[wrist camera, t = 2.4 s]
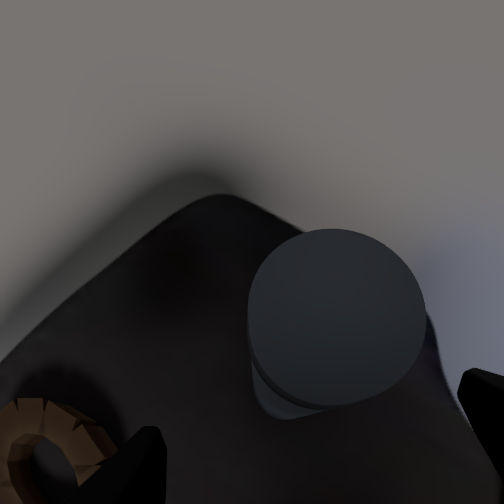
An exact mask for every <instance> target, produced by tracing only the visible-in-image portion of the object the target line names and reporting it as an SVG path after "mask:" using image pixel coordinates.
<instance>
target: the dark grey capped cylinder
mask: <svg viewBox="0 0 504 504" xmlns="http://www.w3.org/2000/svg"><path fill="white" fill-rule="evenodd" d="M425 330H426V310H425V303H424V299H423V295H422V292H421V290H420V287H419V285H418V283H417V281H416V279H415V277H414V275H413V273H412V272H411V270H410V269H409V268H408V266H407V265H406V264H405V263H404V262H403V260H402V259H401V258H400V257H399V256H398V255H396V253H394V252H393V251H392V250H391V249H389V248H388V247H386V246H385V245H384V244H382V243H381V242H379V241H377V240H375V239H373V238H371V237H369V236H366V235H364V234H360V233H357V232H354V231H349V230H343V229H321V230H314V231H310V232H306V233H303V234H300V235H297V236H295V237H293V238H291V239H289V240H287V241H285V242H284V243H283V244H281V245H280V246H278V247H277V248H276V249H275V250H274V251H273V252H272V253H271V254H269V255H268V257H267V258H266V259H265V260H264V262H263V263H262V264H261V266H260V268H259V269H258V271H257V273H256V275H255V277H254V280H253V282H252V285H251V289H250V293H249V300H248V314H247V339H248V346H249V352H250V356H251V361H252V373H253V386H254V395H255V399H256V402H257V404H258V405H259V407H260V408H261V409H262V410H263V411H264V412H265V413H266V414H268V415H269V416H271V417H273V418H276V419H281V420H289V419H294V418H299V417H303V416H307V415H311V414H315V413H319V412H323V411H326V410H334V409H340V408H344V407H348V406H351V405H355V404H358V403H361V402H363V401H365V400H368V399H370V398H371V397H373V396H375V395H377V394H379V393H381V392H383V391H385V390H387V389H388V388H390V387H391V386H393V385H394V384H396V383H397V382H398V381H399V380H400V379H401V378H402V377H403V376H404V375H405V374H406V373H407V372H408V371H409V369H410V368H411V367H412V365H413V364H414V362H415V360H416V359H417V357H418V355H419V352H420V350H421V348H422V344H423V341H424V337H425Z"/></svg>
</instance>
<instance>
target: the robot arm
mask: <svg viewBox="0 0 504 504" xmlns="http://www.w3.org/2000/svg"><path fill="white" fill-rule="evenodd" d="M457 396H458V399H459V401H460V403H461V405H462V407H463V410H464V412H465V414H466V416H467V418H468V420H469V422H470V424H471V426H472V428H473V430H474V432H475V434H476V436H477V438H478V439H479V441H480V443H481V444H482V446H483V448H484V449H485V451H486V453H487V455H488V456H489V458H490V460H491V461H492V463H493V465H494V467H495V469H496V470H497V472H498V474H499V476H500V478H501V480H502V481H503V483H504V376H501V375H498V374H494V373H491V372H488V371H484V370H481V369H478V368H472V369H469V370H467V371H465V372H464V373H463V375H462V378H461V381H460V385H459V388H458V391H457ZM166 469H167V448H166V444H165V442H164V439H163V437H162V434H161V432H160V430H159V428H158V427H155V426H144V427H142V428H141V429H140V430H139V431H138V432H137V433H136V434H135V435H134V436H133V437H131V438H130V439H129V440H128V441H127V442H126V443H125V444H124V445H123V446H122V447H121V448H120V449H119V450H118V451H117V452H116V453H115V454H114V455H113V456H112V457H110V458H109V459H108V460H107V461H106V462H105V463H104V464H103V465H102V466H101V467H100V468H99V469H98V470H97V471H95V472H94V473H93V474H92V475H91V476H90V477H89V478H88V479H87V480H86V481H85V482H83V483H82V484H81V485H80V486H79V487H78V488H77V489H76V490H75V491H73V492H72V493H71V494H70V495H69V496H68V497H67V498H65V500H64V501H62V502H61V503H60V504H165V499H166Z"/></svg>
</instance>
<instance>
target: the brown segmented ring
mask: <svg viewBox="0 0 504 504" xmlns="http://www.w3.org/2000/svg"><path fill="white" fill-rule="evenodd" d="M17 399H18V401H15V400H12V401H11V402H10V403H9V404H8V405H6V406H5V407H4V408H3V409H2V410H1V411H0V501H1V503H2V504H49V503H48V502H47V501H46V500H45V499H44V497H43V496H42V494H41V493H40V491H39V490H38V488H37V486H36V485H35V483H34V480H33V475H32V470H31V465H30V461H31V457H32V453H33V450H34V446H35V445H36V444H37V443H39V442H40V441H41V440H43V439H44V438H45V437H46V438H47V439H49V440H50V441H52V442H53V443H54V444H56V445H57V446H59V447H60V448H61V449H62V451H63V453H64V454H65V456H66V457H67V459H68V461H69V462H70V464H71V465H72V467H73V468H74V470H75V472H76V477H77V482H78V486H80V485H81V484H82V483H83V482H85V481H86V480H87V479H88V478H89V477H90V476H91V475H92V474H93V473H94V472H95V471H97V470H98V469H99V468H100V467H101V466H102V465H103V464H104V463H105V462H106V461H107V460H108V459H109V458H110V457H112V456H113V455H114V454H115V453H116V452H117V451H118V450H119V449H118V448H117V447H116V445H115V444H114V443H113V441H112V440H111V438H110V437H109V436H108V434H107V433H106V431H105V430H104V428H103V427H101V426H96V423H97V421H95V420H93V419H91V418H90V417H88V416H86V415H85V414H83V413H81V412H80V411H78V410H76V409H75V408H73V407H71V406H69V405H65V404H62V403H58V402H55V401H51V400H47V399H44V398H17Z"/></svg>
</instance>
